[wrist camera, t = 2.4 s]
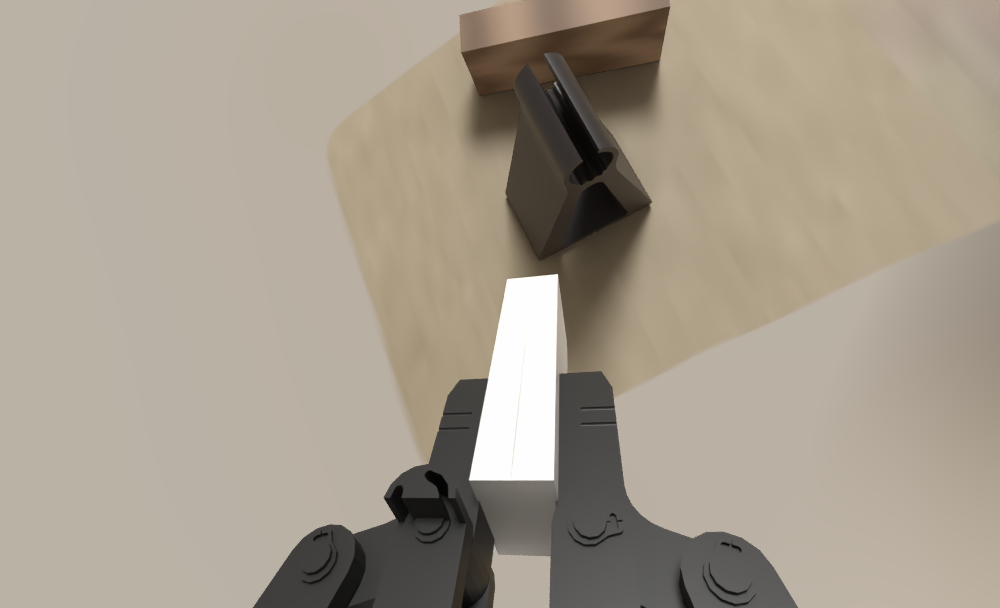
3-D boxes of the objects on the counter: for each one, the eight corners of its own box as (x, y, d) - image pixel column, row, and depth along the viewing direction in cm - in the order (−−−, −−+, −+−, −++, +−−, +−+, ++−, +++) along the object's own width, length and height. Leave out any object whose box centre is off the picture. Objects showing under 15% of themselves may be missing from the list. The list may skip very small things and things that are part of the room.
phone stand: (613, 137, 32) (619, 9, 21) (651, 204, 31) (681, 106, 19) (506, 194, 34) (456, 103, 22) (538, 261, 32) (504, 201, 21)
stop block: (655, 25, 33) (664, -34, 28) (659, 60, 32) (670, 6, 28) (478, 62, 36) (459, 15, 31) (480, 95, 35) (461, 52, 31)
